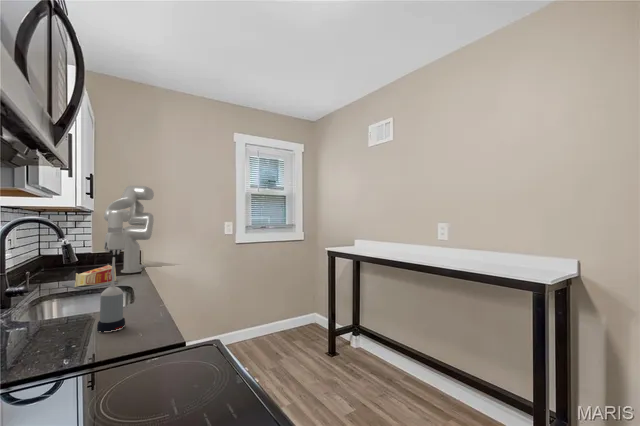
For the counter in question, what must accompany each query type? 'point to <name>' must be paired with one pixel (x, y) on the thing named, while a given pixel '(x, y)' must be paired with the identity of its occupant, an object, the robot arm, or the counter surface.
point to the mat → (87, 285)
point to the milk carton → (95, 276)
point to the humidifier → (111, 306)
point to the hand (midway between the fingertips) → (114, 261)
